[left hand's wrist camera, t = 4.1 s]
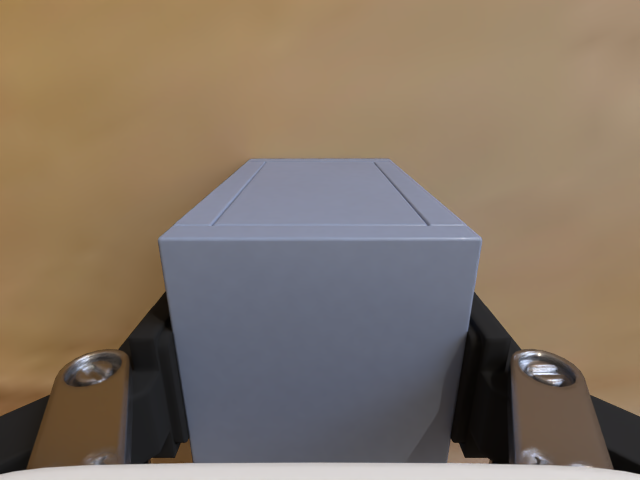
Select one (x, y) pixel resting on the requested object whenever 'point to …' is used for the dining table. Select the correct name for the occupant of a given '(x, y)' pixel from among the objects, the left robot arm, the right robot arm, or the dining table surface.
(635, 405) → the dining table surface
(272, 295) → the cabinet
